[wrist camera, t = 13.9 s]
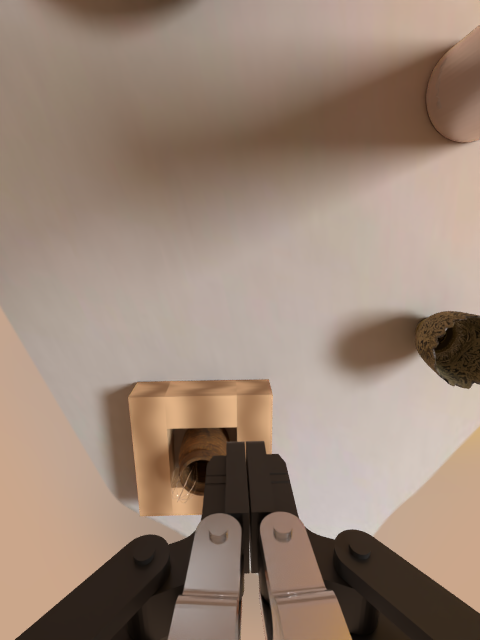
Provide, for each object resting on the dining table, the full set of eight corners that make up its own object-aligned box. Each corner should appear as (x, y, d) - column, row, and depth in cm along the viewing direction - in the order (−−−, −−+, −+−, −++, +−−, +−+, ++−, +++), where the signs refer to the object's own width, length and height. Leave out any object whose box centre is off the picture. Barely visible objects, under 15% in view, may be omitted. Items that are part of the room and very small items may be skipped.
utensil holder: (192, 411, 42) (178, 479, 31) (239, 427, 43) (242, 500, 31) (176, 449, 44) (156, 529, 32) (222, 464, 44) (219, 548, 33)
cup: (471, 325, 41) (527, 348, 33) (426, 370, 42) (470, 402, 34) (429, 287, 40) (477, 301, 32) (384, 334, 41) (419, 359, 33)
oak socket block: (268, 379, 42) (272, 394, 38) (267, 488, 46) (270, 512, 42) (137, 381, 42) (128, 397, 38) (147, 492, 46) (140, 516, 42)
